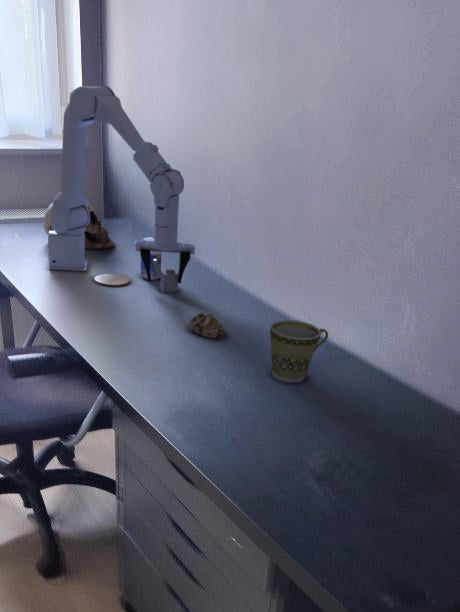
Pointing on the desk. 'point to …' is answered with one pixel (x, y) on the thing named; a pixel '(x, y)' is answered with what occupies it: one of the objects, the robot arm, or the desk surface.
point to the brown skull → (87, 231)
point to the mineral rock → (207, 326)
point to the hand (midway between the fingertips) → (164, 281)
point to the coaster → (112, 279)
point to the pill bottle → (153, 256)
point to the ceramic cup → (293, 348)
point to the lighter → (166, 278)
